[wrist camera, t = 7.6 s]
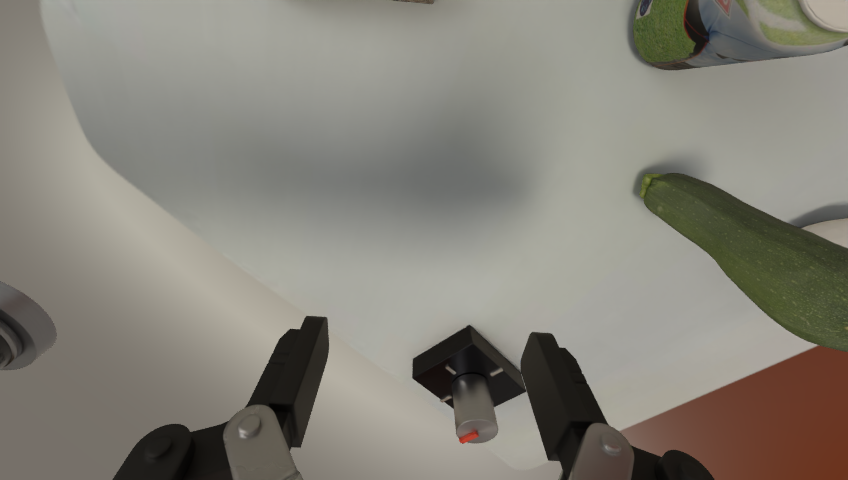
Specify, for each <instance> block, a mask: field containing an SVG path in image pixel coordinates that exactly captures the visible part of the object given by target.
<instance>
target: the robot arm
mask: <svg viewBox="0 0 848 480" xmlns="http://www.w3.org/2000/svg"><path fill="white" fill-rule="evenodd" d="M21 352H22V345H21V341H20V339H19V337H18V336H17V335H16V333H15V332H14V331H13V330H12V329H11V328H10V327H9V326H8V325H7V324H6V323H5V322H3V321H2V320H1V319H0V369H1V368H3V367H5V366H7V365H9V364H10V363H11V362H12V361H14V360H15V359H16V358H18V357H19V356H20V354H21ZM328 352H329V337H328V321H327V317H317V316H306V318H305V319H304V322H303V324H302V326H301V329H300V330H299V329H290V330H289V331H287V332H286V334H284V335H283V336H282V337H281V338H280V339H279V341H278V343H277V345H276V347H275V349H274V352H273V354H272V355H271V357H270V360H269V363H268V364H267V366H266V368H265V370H264V372H263V374H262V376H261V378H260V380H259V382H258V384H257V386H256V388H255V390H254V392H253V394H252V397H251V398H250V401H249V402H248V404H247V406H246V407H245V408H244V409H242V410H241V411H239V412H238V413H236V414H235V415H234V416H233V417H232V418H231V419H230V420H229V421H227V422H225V423H223V424H221V425H217V426H213V427H209V428H205V429H202V430H197V431H193V432H190V431H189V429H188V428H187V427H185V426H184V425H181V424H169V425H165V426H162V427H159V428H157V429H155V430H154V431H152V432H150V433H149V434H147V435H146V436H145V437H143V438H142V439H141V440H140V441H139V442H138V443H137V444H136V445H135V447H134V448H133V449H132V451H131V452H130V454H129V455H128V457H127V458H126V460H125V461H124V463H123V465H122V466H121V468H120V469H119V471H118V472H117V474H116V475H115V477H114V478H113V480H303V478H302V476H301V474H300V472H298V470H297V469H296V466H295V464H294V461H293V459H292V456H291V453H290V449H291V447H301V444H302V441H303V438H304V435H305V431H306V428H307V425H308V421H309V418H310V415H311V411H312V408H313V405H314V402H315V398H316V395H317V392H318V388H319V385H320V382H321V378H322V375H323V372H324V368H325V365H326V362H327V358H328ZM521 373H522V377H523V380H524V383H525V386H526V390H527V393H528V396H529V399H530V403H531V406H532V409H533V412H534V416H535V419H536V422H537V425H538V429H539V432H540V435H541V438H542V442H543V445H544V448H545V451H546V455H547V458H548V460H550V461H560V462H561V466H562V469H563V470H562V472H561V474H560V476H559V479H558V480H714V478H713V477H712V475H711V474H710V473H709V471H708V470H707V469H706V468H705V467H704V466H703V465H702V464H701V463H700V462H699V461H697V460H696V459H695V458H693V457H692V456H690V455H688V454H686V453H684V452H681V451H677V450H670V451H667V452H666V453H665V454H664V455H663V456H662V457H660V456H657V455H654V454H652V453H649V452H646V451H644V450H641V449H638V448H636V447H633V446H631V445H630V443H629V442H628V441H627V439H626V438H625V437H624V436H623V435H622V434H621V433H620V432H619V431H618V430H616V429H615V428H613V427H611V426H609V425H608V423H607V421H606V419H605V417H604V415H603V413H602V411H601V409H600V407H599V405H598V403H597V401H596V399H595V397H594V395H593V393H592V391H591V389H590V387H589V385H588V384H587V381H586V379H585V377H584V375H583V374H582V371H581V369H580V367H579V365H578V363H577V361H576V359H575V358H574V357H573V356H572V355H571V354H570V353H569V352H568V350H567V349H566V348H559V346H558V344H557V342H556V340H555V338H554V336H553V335H552V334H551V333H538V332H532V333H531V334H530V336H529V338H528V341H527V344H526V347H525V349H524V352H523V355H522V358H521Z"/></svg>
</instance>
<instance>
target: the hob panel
mask: <svg viewBox="0 0 848 480" xmlns="http://www.w3.org/2000/svg"><path fill="white" fill-rule="evenodd" d="M465 374H479V375H481V376H483V377H485V378H486V379H487V380H488V382H489V386H490V391H491V396H492V401H493V406H494V407H495V406H498V405H500V404H502V403H504V402H506V401H508V400H510V399H512V398H514V397H516V396H518V395H520V394H522V393H524V392H526V389H525V386H524V382H523V379H522V376H521V373H520V372H519V371H518V370H517V369H516V368H515V367H514V366H513V365H512V364H511V363H510V362H509V361H507V360H506V359H505V358H504V357H503V356H502V355H501V354H500V353H499V352H498V351H497V350H496V349H494V348H493V347H492V346H491V345H490V344H489V343H488V342H487V341H486V340H485V339H484V338H483V337H482V336H480V335H479V334H478V333H477V332H476V331H475V330H474V329H473V328H472V327H471V326H468V327H466V328H464V329H463V330H461V331H459V332H458V333H456V334H454V335H453V336H451V337H449V338H448V339H446V340H444V341H443V342H441V343H439V344H438V345H436V346H434V347H433V348H431V349H429V350H428V351H426V352H424V353H423V354H421V355H419V356H418V357H416V358H414V359H413V374H412V378H413V379H414V380H416V381H417V382H418V383H420V384H421V385H422V386H424V387H425V388H426V389H428V390H429V391H430V392H432V393H433V394H434V395H436V396H437V397H438V398H440V399H441V400H440V401H441V402H445V403H447V404H448V405H449V406H451V407H452V408H453V409H454V403H453V392H452V384H453V382H454V381H455V380H456V379H457V378H458V377H460V376H462V375H465Z"/></svg>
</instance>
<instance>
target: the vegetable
mask: <svg viewBox="0 0 848 480" xmlns="http://www.w3.org/2000/svg"><path fill="white" fill-rule="evenodd" d="M641 187H642V188H641V191H640V194H639V195H640V197H641V198H643V199H644V203H645V205H646V207H647V208H648V209H649V210H650V211H651V212H652V213H654V214H655V215H657V216H658V217H659V218H661V219H662V220H663V221H664V222H666V223H667V224H668V225H670V226H671V227H672V228H674V229H675V230H676V231H678V232H679V233H681V234H682V235H683V236H685V237H686V238H688V239H689V240H691V241H692V242H694V243H695V244H697V245H698V246H699V247H701V248H702V249H703V250H704V251H706V252H707V253H708V254H709V255H710V256H711V257H712V258H713V259H714V260H715V261H716V262H717V263H718V265H719V266H720V267H721V269H722V270H723V271H724V272H725V274H726V275H727V276H728V277H729V278H730V279H731V280H732V281H733V282H734V283H735V284H736V285H737V286H738V287H739V289H741V290H742V291H743V292H744V293H745V294H746V295H747V296H748V297H749V298H750V299H751V300H752V301H753V302H754V303H755V304H756V305H757V306H758V307H759V308H760V309H761V310H762V311H764V312H765V313H766V314H767V315H768V316H769V317H770V318H772V319H773V320H774V321H776V322H777V323H778V324H780V325H781V326H782V327H784V328H785V329H786V330H788V331H789V332H791V333H793V334H794V335H796V336H798V337H800V338H802V339H804V340H806V341H808V342H811V343H814V344H817V345H820V346H824V347H829V348H833V349H836V350H841V351H845V352H848V248H846V247H843V246H841V245H838V244H835V243H833V242H831V241H829V240H827V239H825V238H823V237H820V236H818V235H816V234H814V233H812V232H809V231H806V230H804V229H801V228H798V227H795V226H793V225H790V224H788V223H786V222H783V221H781V220H779V219H777V218H775V217H773V216H771V215H769V214H767V213H765V212H763V211H760V210H758V209H756V208H754V207H752V206H750V205H748V204H746V203H744V202H742V201H741V200H739V199H737V198H736V197H734V196H732V195H731V194H729V193H727V192H725V191H723V190H722V189H720V188H718V187H716V186H714V185H712V184H709V183H707V182H704V181H701V180H699V179H696V178H693V177H690V176H687V175H684V174H678V173H670V174H665V175H662V174H645V175H644V176H643V181H642V185H641Z"/></svg>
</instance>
